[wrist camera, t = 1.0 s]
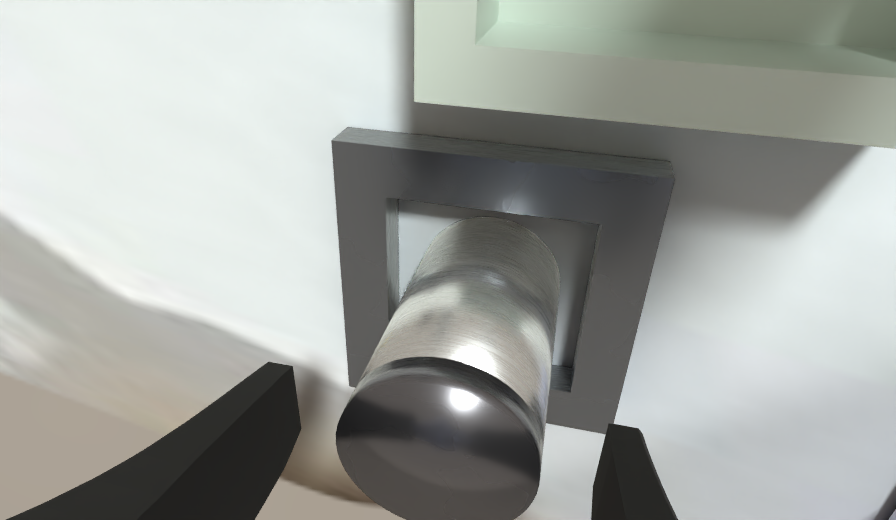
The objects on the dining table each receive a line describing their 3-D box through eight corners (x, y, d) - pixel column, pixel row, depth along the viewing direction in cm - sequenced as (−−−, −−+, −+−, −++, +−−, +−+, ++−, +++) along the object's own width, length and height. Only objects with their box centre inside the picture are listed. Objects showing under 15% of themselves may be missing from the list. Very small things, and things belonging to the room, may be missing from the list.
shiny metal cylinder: (569, 226, 17) (552, 406, 11) (551, 345, 19) (528, 550, 13) (423, 207, 18) (328, 365, 12) (422, 323, 20) (341, 507, 14)
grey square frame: (670, 161, 15) (675, 178, 14) (609, 408, 20) (610, 435, 19) (347, 127, 17) (331, 140, 16) (360, 364, 22) (349, 386, 21)
